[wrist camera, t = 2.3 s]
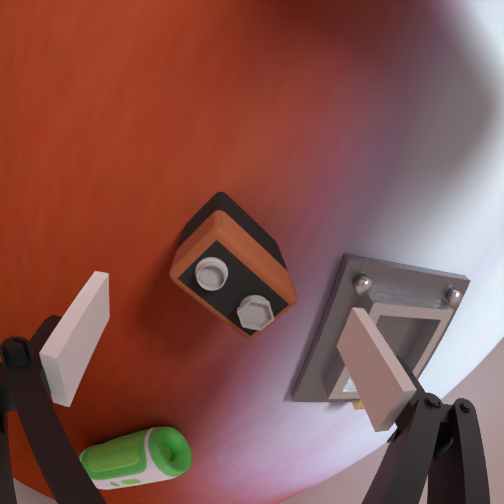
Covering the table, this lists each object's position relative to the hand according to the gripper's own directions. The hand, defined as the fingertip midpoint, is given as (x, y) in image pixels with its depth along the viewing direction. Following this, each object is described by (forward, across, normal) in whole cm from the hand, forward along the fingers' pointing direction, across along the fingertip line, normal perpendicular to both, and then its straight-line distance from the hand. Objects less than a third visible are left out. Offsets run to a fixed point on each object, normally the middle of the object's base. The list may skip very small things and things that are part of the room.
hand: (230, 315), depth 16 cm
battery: (+11, 0, 0) cm, 11 cm away
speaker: (+12, -9, -32) cm, 36 cm away
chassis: (+11, +18, -8) cm, 23 cm away
